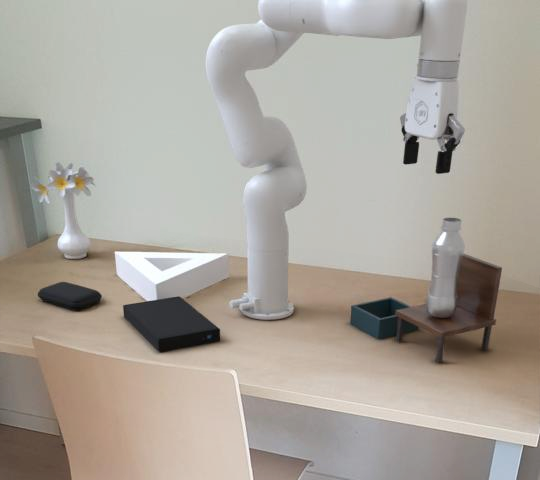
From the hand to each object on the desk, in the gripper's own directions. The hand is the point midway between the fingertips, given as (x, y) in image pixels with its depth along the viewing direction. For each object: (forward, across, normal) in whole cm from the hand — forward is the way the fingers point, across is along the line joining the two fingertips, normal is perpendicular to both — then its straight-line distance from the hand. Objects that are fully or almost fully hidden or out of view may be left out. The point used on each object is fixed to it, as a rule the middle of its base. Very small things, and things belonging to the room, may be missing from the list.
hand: (425, 168), depth 155 cm
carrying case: (+37, -60, -56) cm, 90 cm away
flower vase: (+38, -95, -43) cm, 111 cm away
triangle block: (+37, -62, -32) cm, 79 cm away
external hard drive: (+37, -31, -42) cm, 64 cm away
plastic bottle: (+29, +7, +3) cm, 30 cm away
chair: (+36, +7, +5) cm, 37 cm away
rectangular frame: (+36, -8, +1) cm, 37 cm away
